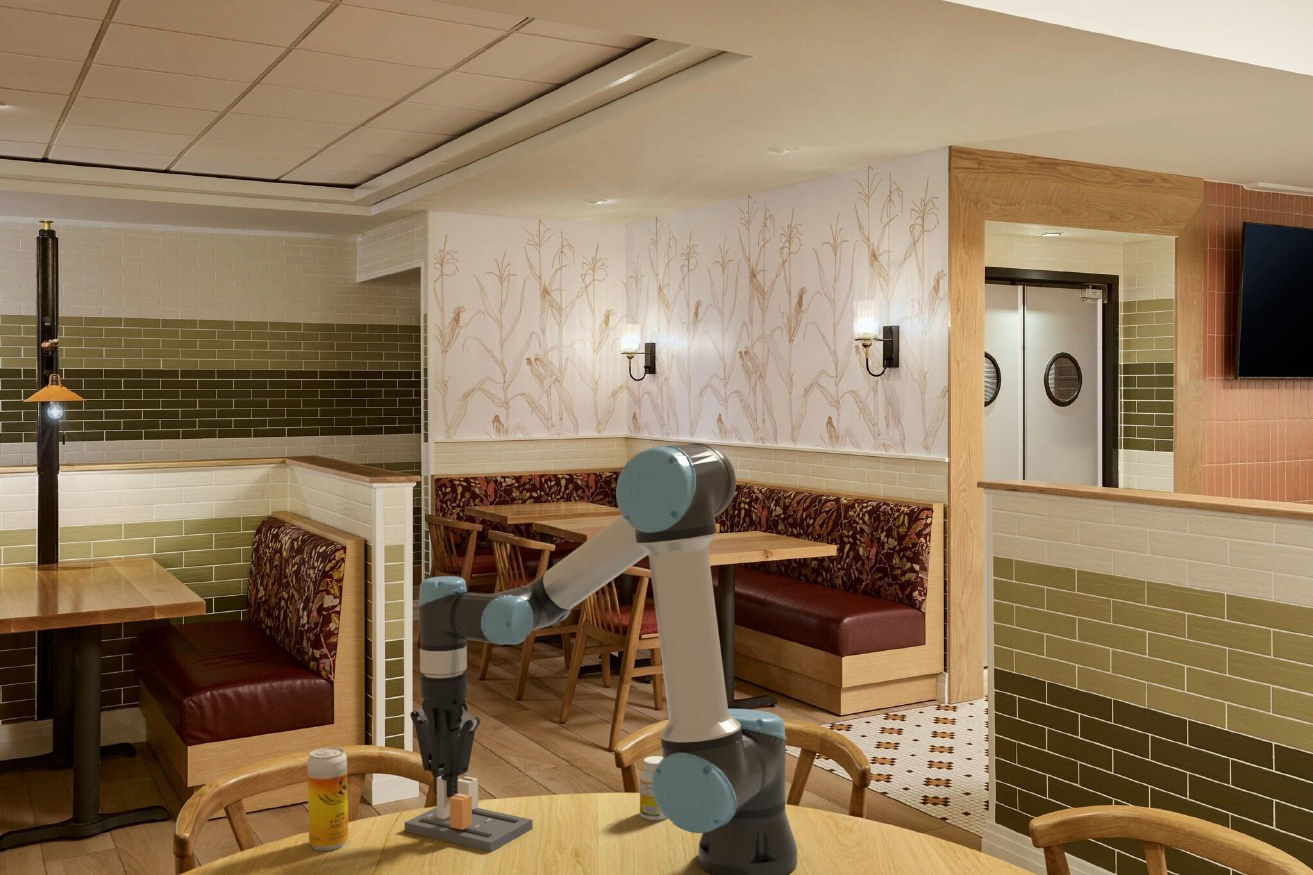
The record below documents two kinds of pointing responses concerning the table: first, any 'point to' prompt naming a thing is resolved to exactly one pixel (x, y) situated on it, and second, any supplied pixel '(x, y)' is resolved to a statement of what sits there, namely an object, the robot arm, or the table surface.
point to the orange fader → (460, 811)
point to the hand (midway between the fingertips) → (446, 815)
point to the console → (471, 828)
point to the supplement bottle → (649, 790)
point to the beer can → (327, 798)
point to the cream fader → (469, 789)
